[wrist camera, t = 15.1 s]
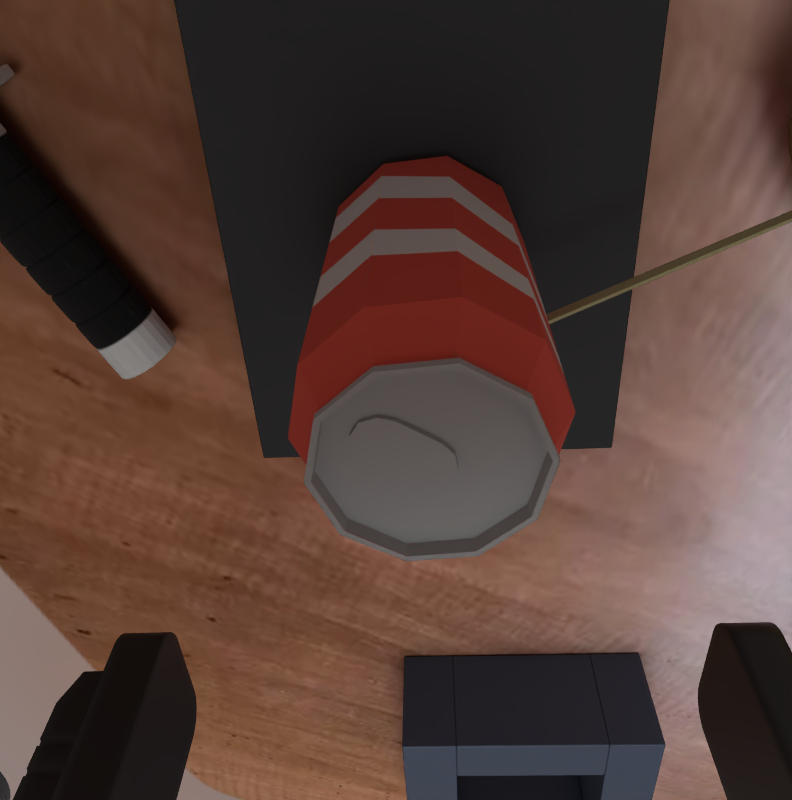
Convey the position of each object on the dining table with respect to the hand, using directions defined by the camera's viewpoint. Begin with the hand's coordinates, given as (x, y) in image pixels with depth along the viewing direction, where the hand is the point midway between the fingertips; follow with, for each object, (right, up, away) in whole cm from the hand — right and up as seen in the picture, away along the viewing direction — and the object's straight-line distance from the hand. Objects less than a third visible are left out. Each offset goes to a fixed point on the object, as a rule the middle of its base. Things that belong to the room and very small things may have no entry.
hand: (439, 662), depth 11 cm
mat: (0, +10, +15) cm, 18 cm away
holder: (+6, -14, +31) cm, 34 cm away
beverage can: (0, +9, +14) cm, 17 cm away
